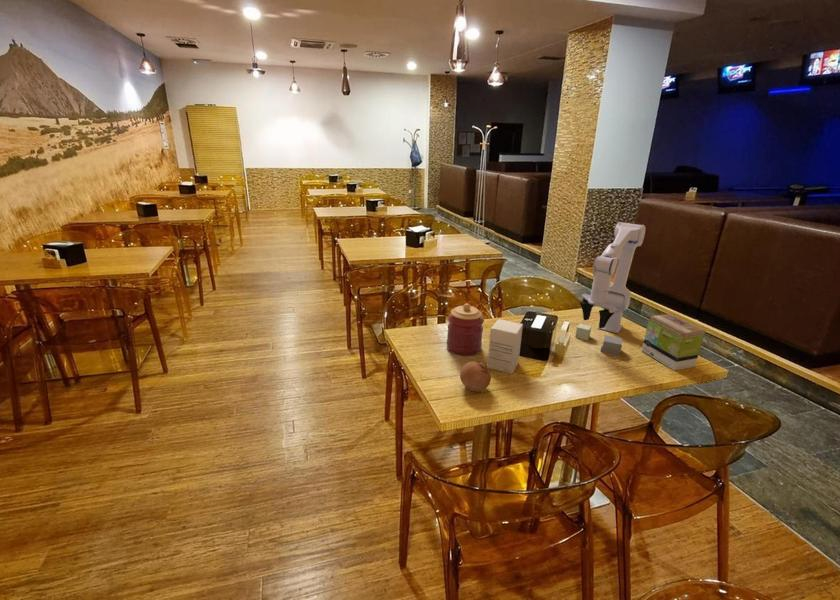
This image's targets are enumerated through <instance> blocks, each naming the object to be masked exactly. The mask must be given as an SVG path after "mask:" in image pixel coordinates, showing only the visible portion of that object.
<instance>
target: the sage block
mask: <svg viewBox="0 0 840 600" xmlns="http://www.w3.org/2000/svg"><path fill="white" fill-rule="evenodd" d="M591 332H592V326H591V325H588V324H583V323H579V324H577V327H576V330H575V335H574V336H575V337H574V338H577V339H581V340H584V341H588V340H589V338H590V336H591Z"/></svg>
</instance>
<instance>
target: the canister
mask: <svg viewBox="0 0 840 600" xmlns="http://www.w3.org/2000/svg"><path fill="white" fill-rule="evenodd" d="M447 320H448V323H447V336H446V337H447V338H446V348H447V350H448V351H449V352H451V353H453V354H455V355H457V356H459V355H460V356H474V355H477V354H479V353H480V351H481V349H482V346H483V342H482V339H483V332H484V327H483V324H484V321H485V319H484V317H483V313H482V310H479V309H478V308H477V307H475V306H473V305H471V304H469V303H464V304H463V305H458V306H456V307H454V308H452V309H451V310H450V314H449V315H448V317H447Z"/></svg>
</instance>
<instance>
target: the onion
mask: <svg viewBox="0 0 840 600" xmlns="http://www.w3.org/2000/svg"><path fill="white" fill-rule="evenodd" d="M459 378H460V381H461V383H462V385H463V386H464V387H465V389H466V390H468V391H470V392H473V393H474V394H476V393H481V392H482V391H484V390H485V389H487V388H488V387H489V385H490V383H491V380H492V373H491V371H490V368H487V365H486V364H485V363H483V362H479V361H473V360H471V361H468V362H466V363H465V364H464V365H463V366H462V367H461V370H460V373H459Z"/></svg>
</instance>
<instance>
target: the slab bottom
mask: <svg viewBox="0 0 840 600" xmlns="http://www.w3.org/2000/svg"><path fill="white" fill-rule="evenodd" d="M622 347H623V345H621V348H622ZM621 351H622V349H621V350H620V351H618V350H613V349H609V348H603V344H602V345H601V346H600V353H604V354H607V355H611V356H613V357H619V355H620V353H621Z"/></svg>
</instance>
